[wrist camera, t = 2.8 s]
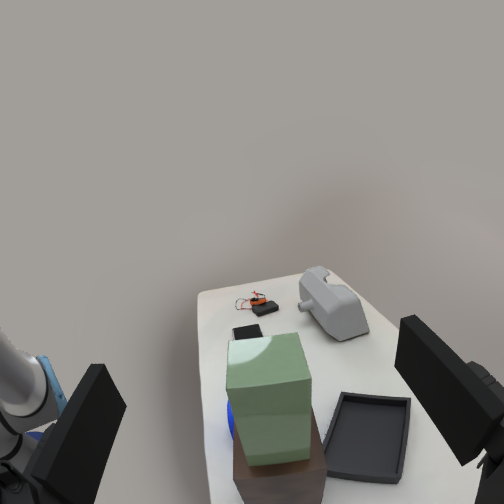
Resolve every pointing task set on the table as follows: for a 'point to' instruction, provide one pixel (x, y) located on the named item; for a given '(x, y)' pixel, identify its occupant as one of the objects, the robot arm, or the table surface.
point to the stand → (282, 475)
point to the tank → (332, 305)
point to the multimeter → (262, 305)
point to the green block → (270, 398)
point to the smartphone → (247, 332)
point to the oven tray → (367, 438)
